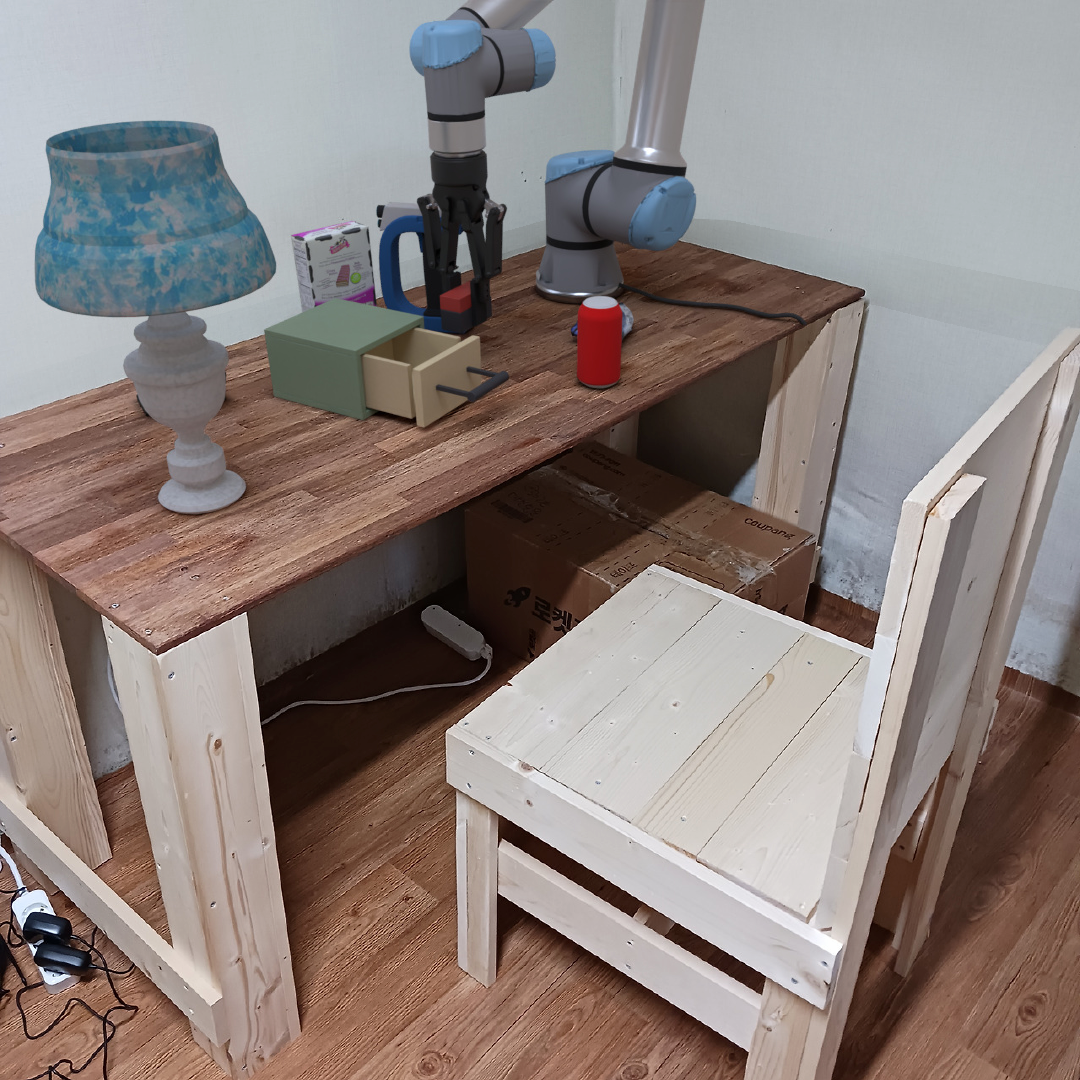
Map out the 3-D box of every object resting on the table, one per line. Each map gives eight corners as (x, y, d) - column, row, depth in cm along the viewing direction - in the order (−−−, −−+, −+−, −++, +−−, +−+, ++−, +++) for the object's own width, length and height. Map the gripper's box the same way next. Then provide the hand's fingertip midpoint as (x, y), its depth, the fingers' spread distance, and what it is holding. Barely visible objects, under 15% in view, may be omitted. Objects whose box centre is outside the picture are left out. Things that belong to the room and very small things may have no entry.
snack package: (662, 341, 166) (618, 317, 174) (660, 303, 162) (614, 281, 170) (600, 369, 162) (557, 344, 170) (595, 331, 158) (552, 307, 166)
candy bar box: (363, 320, 175) (352, 219, 166) (380, 328, 171) (370, 225, 163) (303, 337, 168) (289, 233, 160) (319, 346, 165) (306, 239, 156)
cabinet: (428, 382, 153) (423, 316, 148) (362, 420, 142) (355, 350, 137) (342, 361, 160) (335, 297, 155) (273, 396, 149) (263, 329, 144)
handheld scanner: (479, 335, 168) (475, 208, 158) (382, 329, 171) (372, 204, 161) (486, 326, 172) (483, 201, 162) (391, 320, 175) (382, 197, 165)
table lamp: (214, 433, 139) (153, 105, 118) (349, 482, 127) (308, 128, 106) (51, 509, 122) (-53, 143, 101) (189, 573, 111) (103, 175, 90)
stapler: (473, 312, 157) (471, 279, 154) (492, 316, 156) (491, 282, 153) (441, 329, 151) (439, 295, 149) (461, 333, 150) (459, 299, 147)
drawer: (521, 400, 145) (520, 344, 141) (464, 438, 135) (461, 380, 131) (397, 370, 154) (393, 318, 150) (336, 404, 144) (329, 349, 140)
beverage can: (627, 379, 153) (630, 298, 147) (608, 394, 148) (610, 311, 142) (589, 371, 156) (590, 291, 149) (569, 386, 151) (569, 304, 145)
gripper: (526, 151, 140) (530, 322, 152) (424, 139, 147) (436, 303, 160) (495, 163, 135) (502, 339, 147) (391, 150, 142) (405, 319, 154)
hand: (467, 320), depth 153 cm, fingers closed on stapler, 3 cm apart
